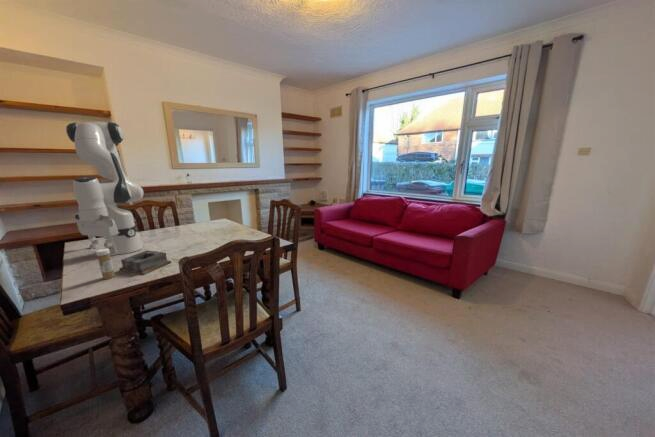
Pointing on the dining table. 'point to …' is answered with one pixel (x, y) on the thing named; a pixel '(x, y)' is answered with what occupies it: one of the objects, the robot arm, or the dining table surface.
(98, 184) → the robot arm
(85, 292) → the dining table surface
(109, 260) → the sprinkles bottle
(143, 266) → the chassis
